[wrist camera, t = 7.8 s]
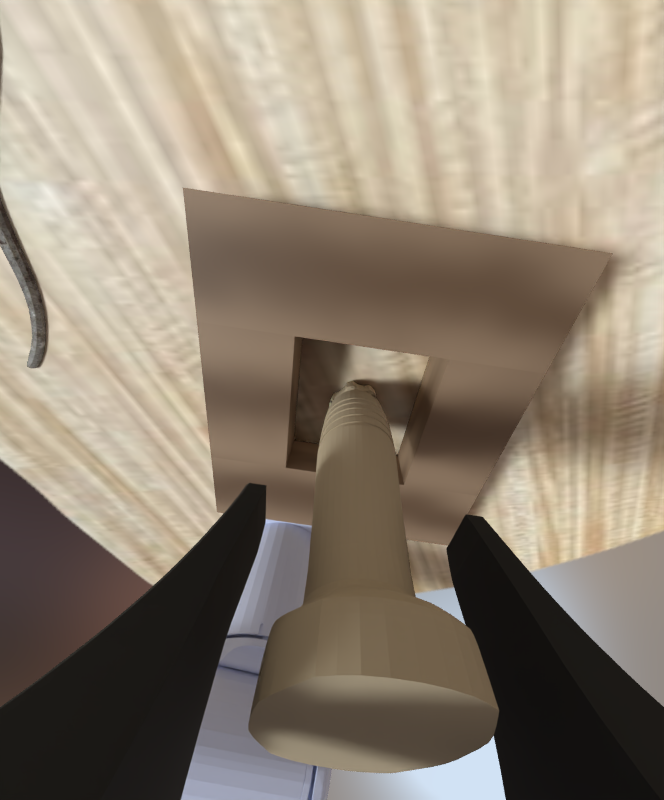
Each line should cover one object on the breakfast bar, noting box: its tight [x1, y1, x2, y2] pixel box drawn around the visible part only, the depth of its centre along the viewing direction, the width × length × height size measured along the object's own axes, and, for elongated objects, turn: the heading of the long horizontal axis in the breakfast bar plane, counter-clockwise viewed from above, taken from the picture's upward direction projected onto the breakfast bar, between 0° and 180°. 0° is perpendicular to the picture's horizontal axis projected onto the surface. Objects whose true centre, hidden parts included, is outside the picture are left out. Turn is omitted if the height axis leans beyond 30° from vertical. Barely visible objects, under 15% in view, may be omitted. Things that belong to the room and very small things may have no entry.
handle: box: [248, 381, 499, 773], centre depth 12 cm, size 5×6×15 cm
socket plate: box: [183, 188, 613, 545], centre depth 18 cm, size 20×18×3 cm
